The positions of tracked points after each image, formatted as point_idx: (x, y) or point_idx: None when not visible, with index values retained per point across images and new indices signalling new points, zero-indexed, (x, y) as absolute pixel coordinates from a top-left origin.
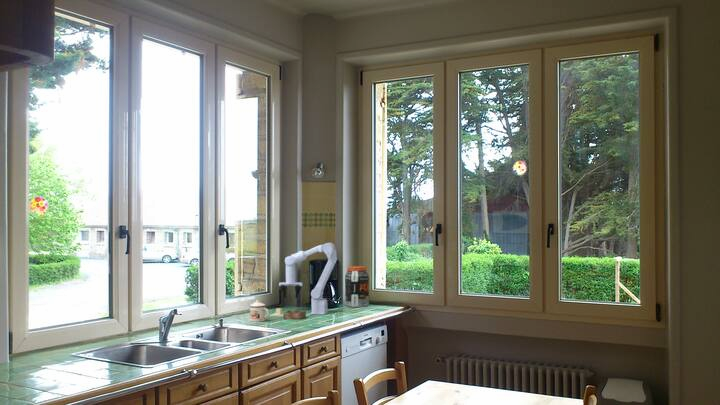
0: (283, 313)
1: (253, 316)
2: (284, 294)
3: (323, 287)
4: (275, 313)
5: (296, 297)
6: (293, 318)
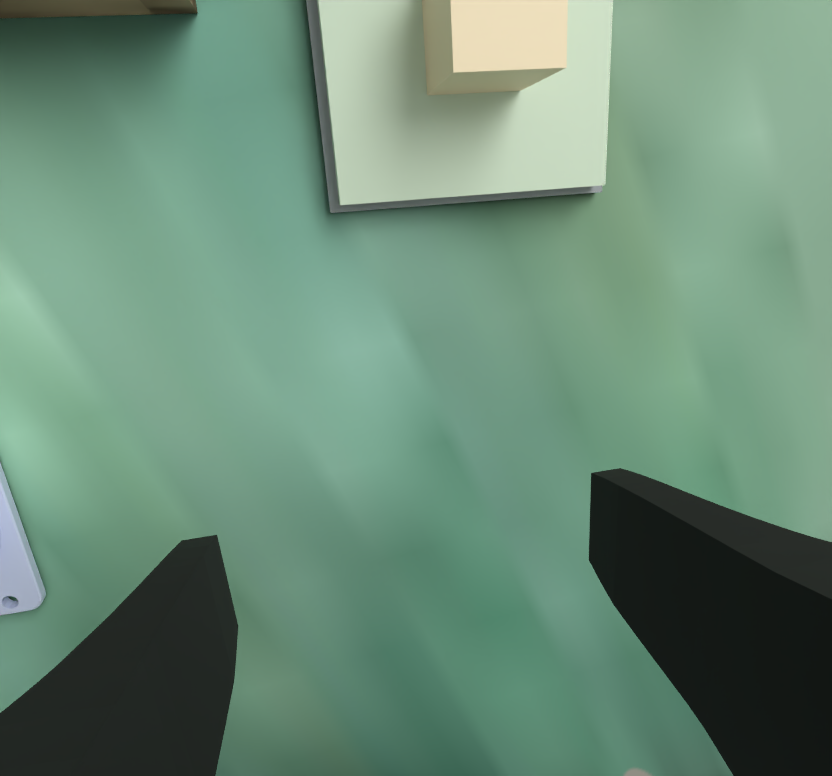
0: (419, 156)
1: None
2: (662, 509)
3: None
4: (577, 125)
5: (181, 544)
6: None
